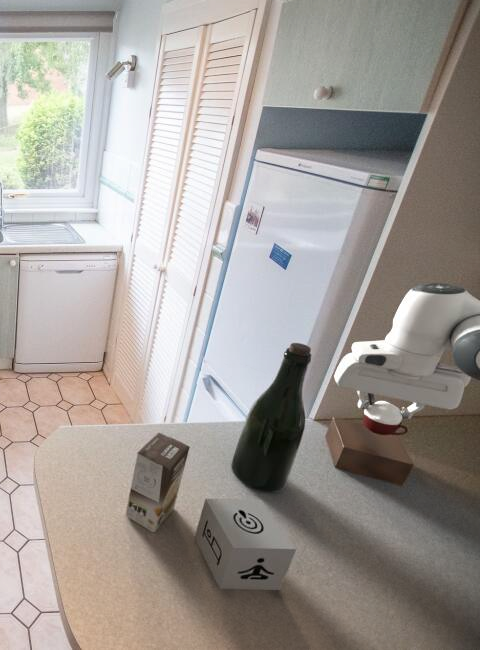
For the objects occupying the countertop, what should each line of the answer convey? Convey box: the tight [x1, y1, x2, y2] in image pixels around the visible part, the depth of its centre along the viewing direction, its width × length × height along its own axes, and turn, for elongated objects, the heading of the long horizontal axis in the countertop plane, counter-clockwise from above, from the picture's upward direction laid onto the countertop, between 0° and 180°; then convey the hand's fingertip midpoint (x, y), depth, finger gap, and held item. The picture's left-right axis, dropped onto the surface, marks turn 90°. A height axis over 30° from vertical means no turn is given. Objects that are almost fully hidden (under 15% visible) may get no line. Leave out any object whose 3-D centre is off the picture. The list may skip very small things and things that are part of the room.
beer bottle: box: [230, 342, 313, 493], centre depth 94 cm, size 10×10×33 cm
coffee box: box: [124, 432, 191, 533], centre depth 88 cm, size 9×6×16 cm
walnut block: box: [324, 416, 414, 487], centre depth 104 cm, size 12×12×6 cm
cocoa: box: [362, 393, 409, 436], centre depth 99 cm, size 10×6×12 cm, turn 5°
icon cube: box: [194, 498, 297, 591], centre depth 79 cm, size 10×10×10 cm
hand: (382, 412), depth 100 cm, fingers closed on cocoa, 6 cm apart
